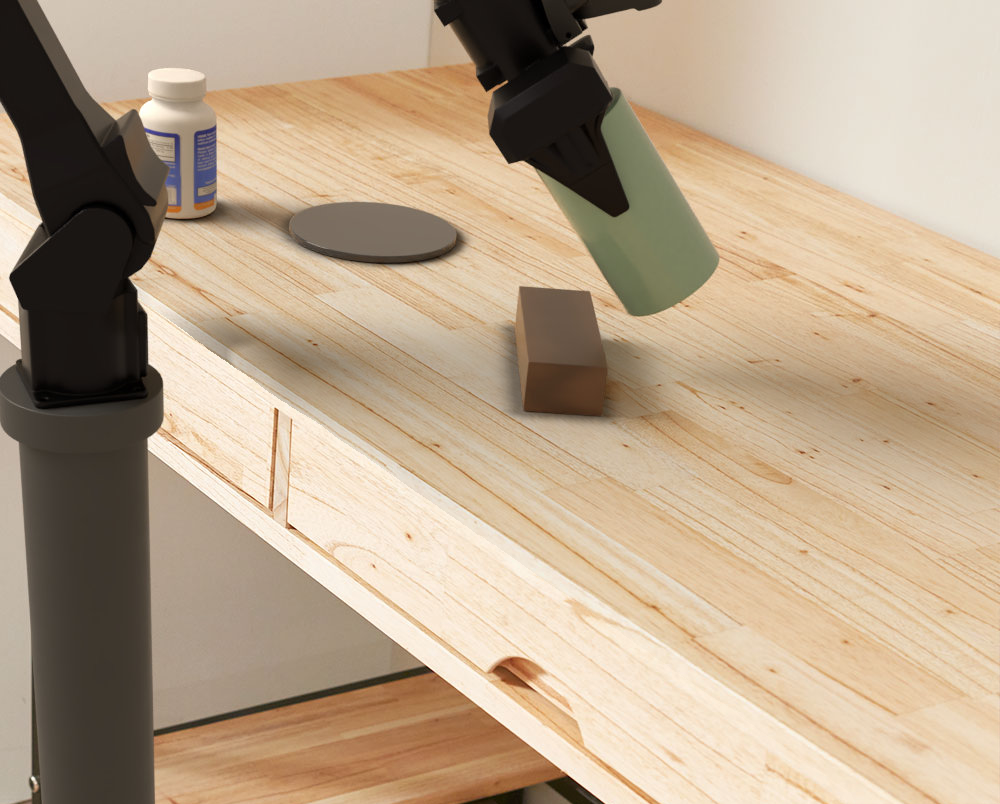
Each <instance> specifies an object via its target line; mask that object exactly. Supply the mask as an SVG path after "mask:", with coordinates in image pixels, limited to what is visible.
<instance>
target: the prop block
mask: <svg viewBox="0 0 1000 804" xmlns="http://www.w3.org/2000/svg"><path fill="white" fill-rule="evenodd" d="M598 323H599V322H598V319H597V315H596V311H595V306H594V302H593V298H592V294H591V291H590V290H577V289H564V288H552V287H551V288H550V287H539V286H537V287H536V286H525V285H523V286H522V285H520V286H519V287H518V294H517V304H516V313H515V323H514V334H515V335H514V336H515V337H514V338H515V346H516V354H517V364H518V365H517V366H518V372H519V373H518V374H519V381H520V391H521V392H520V393H521V401H522V410H523V411H524V412H538V413H553V414H567V415H582V416H583V415H584V416H597V417H602V416H603V411H604V410H603V409H604V403H605V396H606V395H605V394H606V388H607V381H608V372H609V366H608V362H607V358H606V357H607V356H606V353H605V349H604V344H603V340H602V336H601V331H600V327H599V324H598Z"/></svg>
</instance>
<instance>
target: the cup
mask: <svg viewBox="0 0 1000 804" xmlns="http://www.w3.org/2000/svg"><path fill="white" fill-rule="evenodd" d="M609 89H610V91H611V94H612V97H613V99H612V100H611V102H610V105H609V106H608V107H607V109H606V113H605V116H604V119H603V122H602V125H601V130H602V133H603V136H604V138H605V141H606V144H607V146H608V149H609V152H610V154H611V157H612V160H613V162H614V165H615V168H616V170H617V173H618V176H619V178H620V181H621V183H622V186H623V189H624V192H625V194H626V197H627V200H628V202H629V205H630V208H629V210H628V211H626V212H624V213H623V214H621V215H619V216H618V217H611V216H610V215H608V214H607V213H605V212H604V211H602V210H601V209H599V208H598V207H596V206H595V205H593V204H592V203H590V202H588V201H587V200H585V199H584V198H582V197H581V196H579V195H578V194H576V193H575V192H573V191H572V190H570V189H569V188H567V187H565V186H564V185H562V184H561V183H559V182H557V181H556V180H554V179H553V178H551V177H549V176H548V175H546V174H544V173H543V172H541V171H539V170H538V169H536V168H534V167H533V166H531V167H532V168H533V170H534V171H535V173H536V174H537V176H538V178H539V179H540V181H541V182H542V184H543V185H544V187H545V189H546V190H547V191H548V193H549V195H550V196H551V198H552V199H553V201H554V202H555V204H556V206H557V207H558V208H559V210H560V212H561V213H562V216H563V217H564V218H565V220H566V221H567V223H568V224H569V226H570V227H571V229H572V230H573V232H574V234H575V235H576V236H577V238H578V239H579V241H580V243H581V244H582V246H583V248H584V249H585V251H586V252H587V254H588V255H589V257H590V258H591V260H592V262H593V263H594V265H595V266H596V268H597V269H598V271H599V272H600V274H601V275H602V277H603V279H604V280H605V281H606V283H607V284H608V287H609V288H610V290H611V291H612V293H613V295H614V296H615V297H616V299H617V300H618V302H619V303H620V305H621V307H622V308H623V310H624V311H625V313H627V315H629V316H632V317H641V318H642V317H649V316H652V315H655V314H659V313H661V312H664V311H666V310H668V309H671V308H672V307H675V306H676V305H678V304H680V303H682V302H683V301H685V300H686V299H687V298H690V296H692V295H693V294H695V292H697V291H698V290H699V289H701V288H702V287H703V286H704V285H705V284H706V283H707V282H708V281H709V280H710V279H711V277H712V276H713V274H714V273H715V272H716V270H717V268H718V267H719V264H720V253H719V252H718V251H719V250H717V248H716V246H715V245H714V243H713V241H712V239H711V238H710V236H709V235H708V233H707V231H706V230H705V228H704V226H703V225H702V223H701V222H700V219H699V218H698V216H697V215H696V213H695V211H694V209H693V208H692V206H691V205H690V203H689V200H688V199H687V198H686V196H685V195H684V193H683V191H682V190H681V187H680V186H679V184H678V183H677V181H676V179H675V178H674V176H673V174H672V172H671V171H670V169H669V167H668V166H667V164H666V163H665V160H664V159H663V158H662V156H661V154H660V152H659V151H658V149H657V148H656V146H655V144H654V143H653V141H652V139H651V138H650V136H649V134H648V133H647V131H646V129H645V127H644V126H643V124H642V122H641V121H640V119H639V117H638V115H637V114H636V112H635V110H634V109H633V107H632V105H631V104H630V102H629V101H628V99H627V97H626V95H625V94H624V92H623V90H622V89H621V88H619V87H617V86H611V87H610V86H609Z"/></svg>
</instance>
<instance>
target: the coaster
mask: <svg viewBox="0 0 1000 804" xmlns="http://www.w3.org/2000/svg"><path fill="white" fill-rule="evenodd" d="M288 225H289V226H288V232H289V234H290V236H291V238H292V239H293V240H294V241H295V242H297V244H299V245H301V246H302V247H305V248H306V249H308V250H310V251H313V252H316V253H318V254H321V255H326V256H329V257H332V258H338V259H342V260H348V261H353V262H354V261H355V262H361V263H362V262H364V263H377V264H398V263H411V262H419V261H425V260H430V259H434V258H437V257H439V256H442V255H444V254H447V253H448V252H449V251H451V250H452V249H453V248H454V247H455V245H456V243H457V231H456V229H455V228H454V226H453V225H452V224H451V223H450V222H448V221H447V220H446V219H443V218H442V217H440V216H438V215H436V214H433V213H430V212H427V211H424V210H421V209H418V208H414V207H409V206H405V205H400V204H399V205H398V204H393V203H386V202H385V203H384V202H375V201H374V202H373V201H372V202H371V201H341V202H333V203H332V202H331V203H324V204H318V205H314V206H311V207H308V208H305V209H302V210H300V211H298V212H296V213H295V214H294V215H293V216H292V217H291V218H290V220H289V223H288Z"/></svg>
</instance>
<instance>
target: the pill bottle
mask: <svg viewBox="0 0 1000 804" xmlns="http://www.w3.org/2000/svg"><path fill="white" fill-rule="evenodd" d="M147 91H148V95H149V96H151V100H148V101H146V102H145V103H144V104H143V105H142V106H141V107H140V110H139V112H138V114H139V116H140V118H141V120H142V123H143V126H144V129H145V132H146V135H147V138H148V140H149V143H150V145H151V147H152V149H153V150H154V152H155V153H156V154H157V156H158V157H159V158H160V159H161V160H162V161H163V162H164V163H165V164H167V165H168V166H169V167H170V172H169V174H168V177H167V179H166V182H165V186H166V189H167V192H168V202H169V203H168V210H167V213H166V216H165V218H166V219H179V220H180V219H183V220H184V219H196V218H197V219H198V218H203V217H206V216H208V215H210V214H212V213H213V212H214V211H215V210H216V208H217V205H218V204H217V203H218V176H217V175H218V163H217V162H218V152H217V151H218V150H217V143H218V142H217V141H218V139H217V138H218V135H217V133H218V131H217V129H218V127H217V114H216V111H215V109H214V108H213V106H211V105H210V104H209V103H206V102H204V99H205V98H206V96H207V91H208V90H207V77H206V75H205V74H204V73H203V72H201V71H197V70H193V69H188V68H182V67H181V68H179V67H165V68H164V67H163V68H157V69H156V68H155V69H153V70H151V71H149V72H148V74H147Z"/></svg>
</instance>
